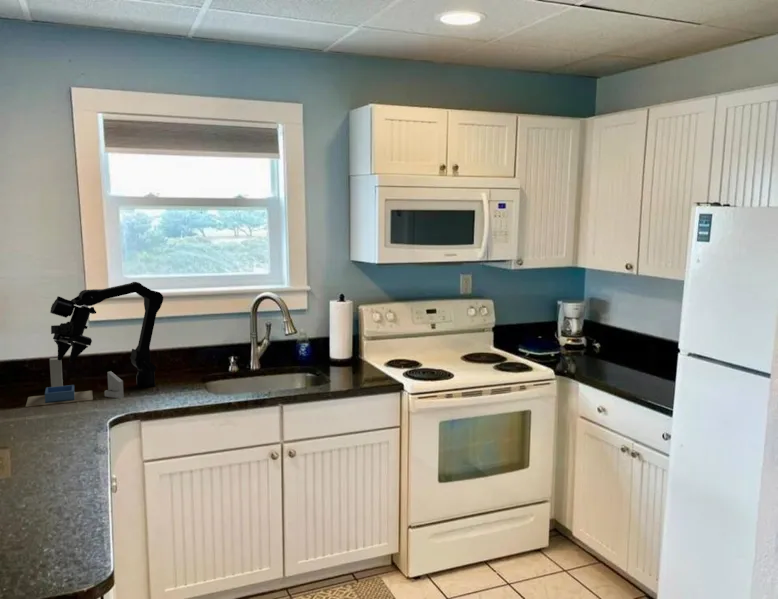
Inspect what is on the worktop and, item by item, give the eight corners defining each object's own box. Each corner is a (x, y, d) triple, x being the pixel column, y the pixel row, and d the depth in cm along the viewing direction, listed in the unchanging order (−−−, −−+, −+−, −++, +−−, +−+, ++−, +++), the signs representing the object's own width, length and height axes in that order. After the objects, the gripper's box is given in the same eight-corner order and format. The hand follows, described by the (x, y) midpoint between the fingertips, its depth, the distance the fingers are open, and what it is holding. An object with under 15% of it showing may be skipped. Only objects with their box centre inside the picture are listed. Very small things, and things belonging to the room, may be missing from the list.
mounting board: (92, 393, 253) (92, 390, 253) (92, 402, 241) (92, 399, 241) (28, 399, 244) (28, 396, 244) (25, 409, 231) (25, 406, 231)
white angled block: (103, 388, 250) (111, 371, 248) (121, 403, 248) (129, 386, 245) (95, 391, 247) (103, 373, 245) (113, 406, 244) (121, 388, 242)
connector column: (63, 388, 259) (61, 357, 258) (62, 391, 256) (61, 359, 254) (51, 390, 257) (50, 358, 256) (51, 392, 254) (49, 360, 252)
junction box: (74, 393, 249) (74, 384, 248) (74, 400, 240) (73, 390, 240) (46, 396, 245) (46, 387, 244) (45, 403, 236) (44, 393, 236)
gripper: (46, 314, 246) (32, 353, 242) (70, 315, 234) (55, 356, 230) (74, 323, 254) (60, 361, 250) (98, 324, 243) (84, 364, 239)
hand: (64, 360), depth 242 cm, fingers open, 9 cm apart
